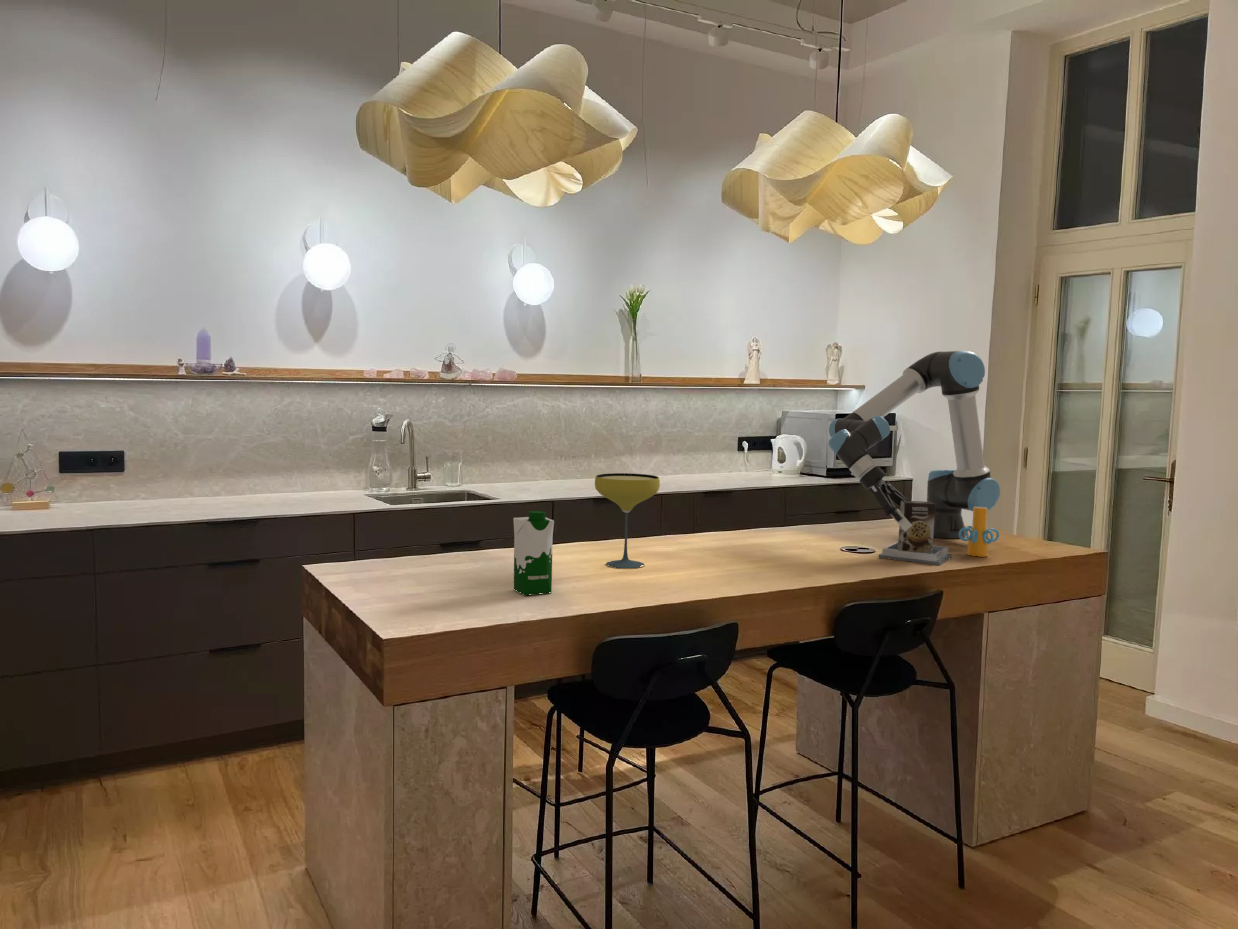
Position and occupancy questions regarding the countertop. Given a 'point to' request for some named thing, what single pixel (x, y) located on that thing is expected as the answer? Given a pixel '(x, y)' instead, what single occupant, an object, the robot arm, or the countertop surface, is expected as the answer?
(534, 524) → the milk carton
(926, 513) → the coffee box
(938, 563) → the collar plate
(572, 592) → the countertop surface
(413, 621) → the countertop surface
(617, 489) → the cocktail glass
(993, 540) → the yellow upright post
